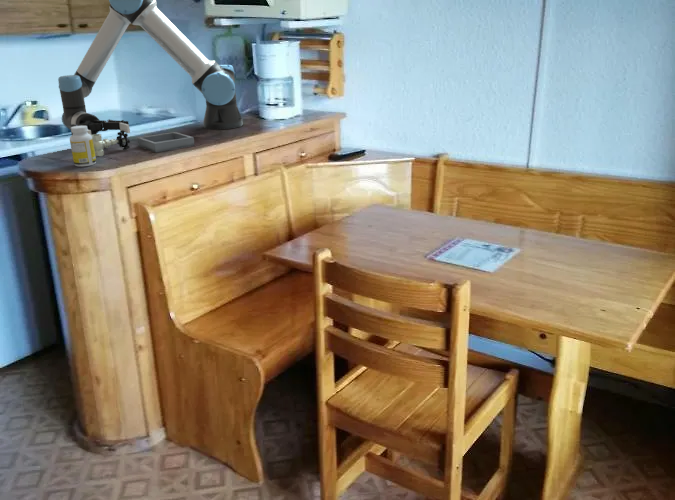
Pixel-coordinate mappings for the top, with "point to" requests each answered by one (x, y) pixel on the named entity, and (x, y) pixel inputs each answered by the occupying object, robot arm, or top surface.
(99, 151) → the valve
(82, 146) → the pill bottle
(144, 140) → the parts tray
